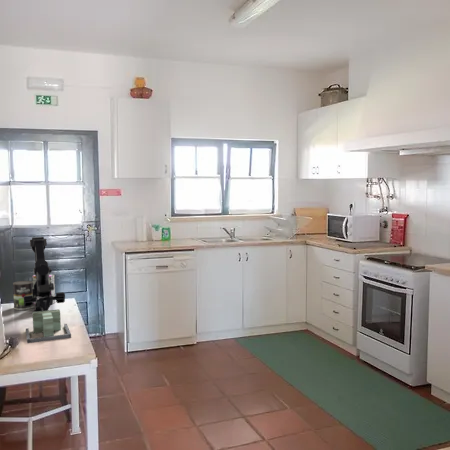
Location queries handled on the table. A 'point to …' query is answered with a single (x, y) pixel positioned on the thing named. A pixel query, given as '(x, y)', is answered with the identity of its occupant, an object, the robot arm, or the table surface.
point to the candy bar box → (51, 280)
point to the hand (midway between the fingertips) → (45, 314)
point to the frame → (48, 336)
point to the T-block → (46, 322)
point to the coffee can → (22, 294)
